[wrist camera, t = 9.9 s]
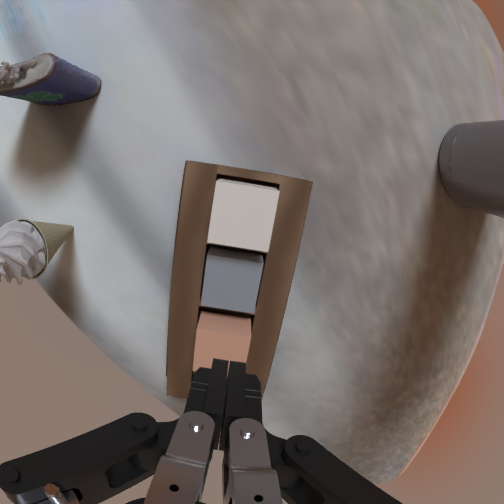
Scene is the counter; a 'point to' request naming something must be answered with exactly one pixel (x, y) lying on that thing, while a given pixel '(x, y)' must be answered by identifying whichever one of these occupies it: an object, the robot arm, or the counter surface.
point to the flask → (47, 81)
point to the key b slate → (232, 278)
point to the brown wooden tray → (196, 247)
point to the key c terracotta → (221, 339)
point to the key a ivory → (243, 215)
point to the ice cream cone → (29, 247)
